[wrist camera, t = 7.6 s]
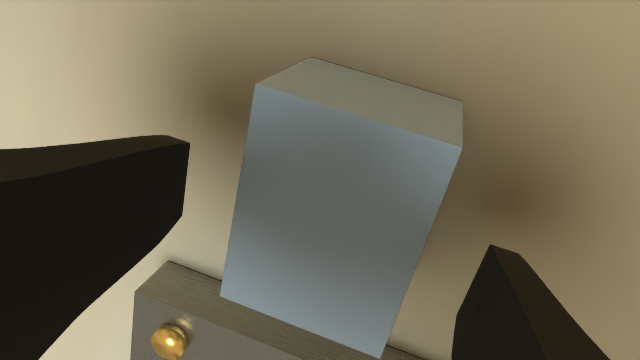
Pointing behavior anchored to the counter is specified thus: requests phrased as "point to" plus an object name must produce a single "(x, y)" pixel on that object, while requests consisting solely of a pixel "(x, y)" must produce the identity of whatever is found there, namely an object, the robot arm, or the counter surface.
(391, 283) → the cap
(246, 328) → the panel
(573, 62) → the counter surface
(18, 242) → the robot arm
